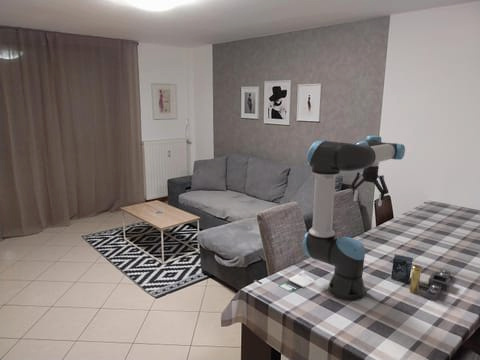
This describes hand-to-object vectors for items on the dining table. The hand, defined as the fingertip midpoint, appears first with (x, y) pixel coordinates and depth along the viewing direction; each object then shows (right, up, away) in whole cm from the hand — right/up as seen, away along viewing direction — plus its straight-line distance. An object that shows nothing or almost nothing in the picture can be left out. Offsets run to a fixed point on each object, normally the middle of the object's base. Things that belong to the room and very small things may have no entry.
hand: (367, 203), depth 189 cm
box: (+6, -34, -25) cm, 43 cm away
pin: (+7, -36, -37) cm, 52 cm away
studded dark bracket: (+21, -35, -31) cm, 52 cm away
